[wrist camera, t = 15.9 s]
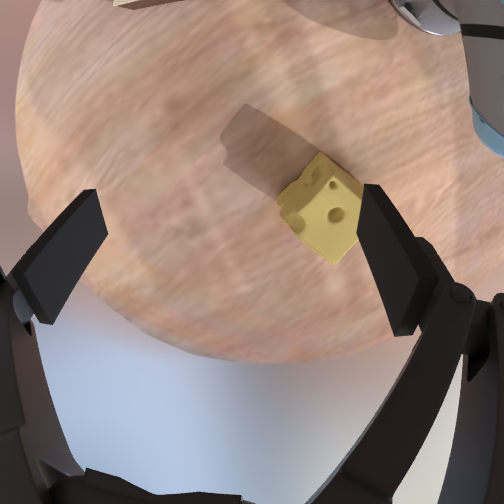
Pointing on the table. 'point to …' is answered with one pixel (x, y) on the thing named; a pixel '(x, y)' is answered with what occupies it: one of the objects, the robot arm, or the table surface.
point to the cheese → (323, 208)
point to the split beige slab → (140, 3)
